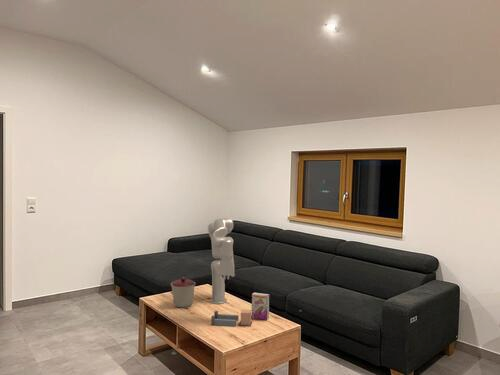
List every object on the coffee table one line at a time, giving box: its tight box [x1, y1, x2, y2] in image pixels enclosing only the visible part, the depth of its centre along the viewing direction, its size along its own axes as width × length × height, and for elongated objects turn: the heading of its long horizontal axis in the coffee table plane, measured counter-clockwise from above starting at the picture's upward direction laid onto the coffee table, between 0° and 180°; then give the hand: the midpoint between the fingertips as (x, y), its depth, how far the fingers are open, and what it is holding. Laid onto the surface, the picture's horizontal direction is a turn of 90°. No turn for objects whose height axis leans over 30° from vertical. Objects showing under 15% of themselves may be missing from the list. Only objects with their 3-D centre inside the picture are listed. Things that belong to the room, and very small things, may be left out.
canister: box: [170, 276, 196, 308], centre depth 287 cm, size 18×18×21 cm
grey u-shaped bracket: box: [210, 310, 240, 327], centre depth 255 cm, size 11×16×6 cm
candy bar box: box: [251, 292, 270, 321], centre depth 263 cm, size 11×5×16 cm, turn 71°
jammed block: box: [240, 309, 252, 325], centre depth 253 cm, size 6×6×8 cm
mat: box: [238, 320, 253, 328], centre depth 254 cm, size 9×8×1 cm
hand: (226, 284), depth 261 cm, fingers closed
